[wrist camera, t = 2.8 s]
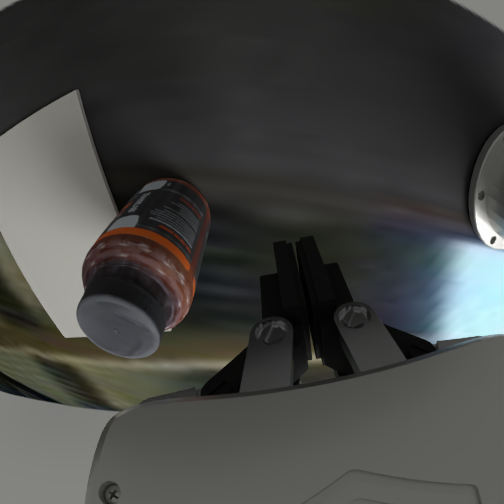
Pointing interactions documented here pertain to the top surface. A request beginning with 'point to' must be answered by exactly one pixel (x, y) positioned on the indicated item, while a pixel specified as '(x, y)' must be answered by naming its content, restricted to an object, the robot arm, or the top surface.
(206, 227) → the supplement bottle
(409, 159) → the top surface
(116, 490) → the robot arm
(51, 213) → the mat
